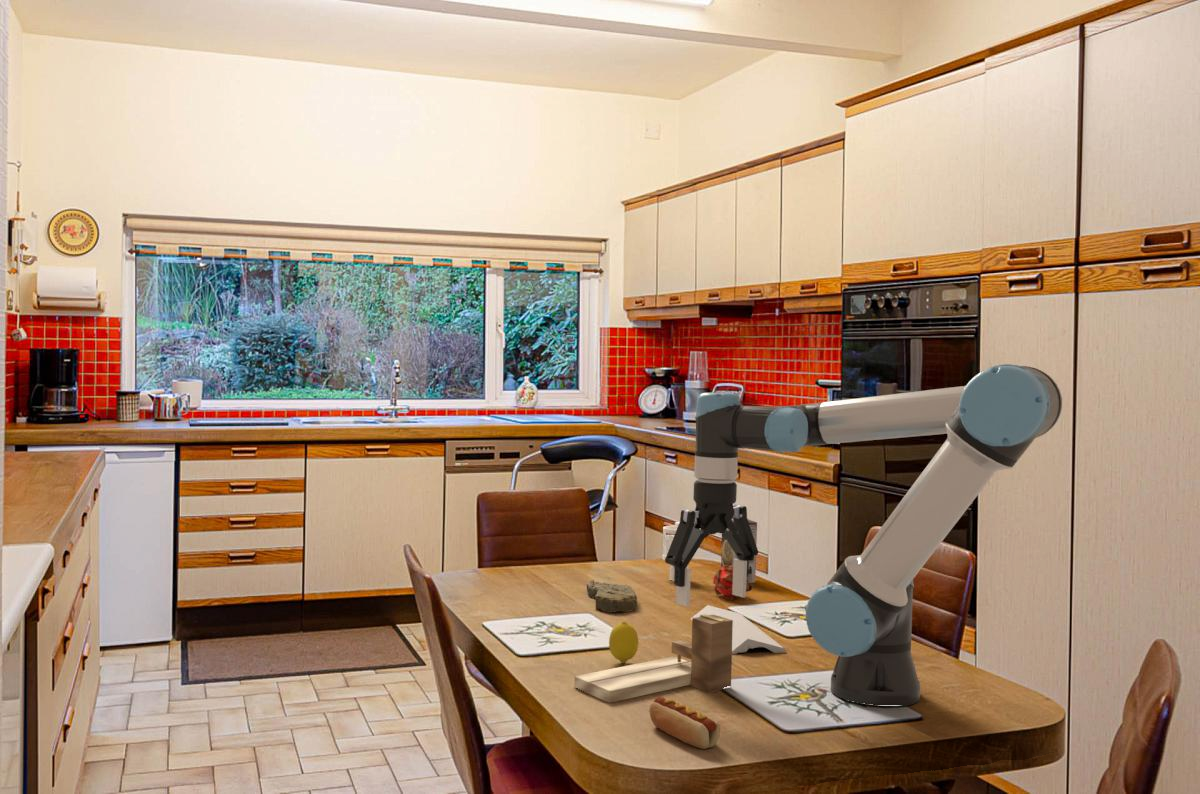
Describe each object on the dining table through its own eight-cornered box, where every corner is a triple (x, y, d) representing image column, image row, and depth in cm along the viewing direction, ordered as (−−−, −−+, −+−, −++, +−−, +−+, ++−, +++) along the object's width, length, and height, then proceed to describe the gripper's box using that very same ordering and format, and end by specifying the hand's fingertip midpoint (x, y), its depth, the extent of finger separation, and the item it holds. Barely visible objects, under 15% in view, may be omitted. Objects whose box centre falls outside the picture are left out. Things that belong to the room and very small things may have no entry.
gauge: (731, 687, 186) (733, 618, 186) (710, 692, 183) (712, 622, 183) (685, 671, 196) (686, 605, 195) (664, 675, 193) (666, 608, 192)
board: (710, 680, 190) (710, 668, 190) (609, 702, 176) (609, 690, 176) (673, 666, 198) (673, 655, 198) (574, 687, 184) (574, 675, 184)
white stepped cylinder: (690, 578, 281) (691, 522, 281) (686, 583, 274) (687, 526, 274) (664, 576, 283) (665, 520, 282) (659, 581, 276) (661, 524, 275)
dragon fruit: (723, 597, 266) (741, 615, 254) (699, 579, 263) (716, 596, 252) (744, 570, 266) (763, 587, 255) (720, 552, 263) (738, 568, 252)
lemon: (628, 669, 196) (629, 626, 196) (603, 664, 199) (603, 622, 199) (643, 662, 201) (644, 620, 201) (618, 657, 204) (619, 616, 204)
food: (727, 749, 157) (728, 715, 157) (698, 756, 154) (699, 722, 154) (670, 721, 168) (670, 690, 168) (642, 727, 165) (643, 696, 165)
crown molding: (787, 655, 210) (787, 637, 210) (728, 657, 208) (728, 639, 208) (741, 620, 239) (741, 604, 239) (689, 621, 236) (689, 605, 236)
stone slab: (652, 610, 242) (648, 589, 241) (601, 621, 239) (598, 600, 239) (624, 590, 268) (620, 571, 267) (578, 600, 265) (575, 581, 265)
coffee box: (719, 576, 284) (721, 517, 284) (741, 575, 286) (743, 516, 285) (733, 583, 275) (735, 522, 275) (756, 582, 277) (757, 521, 277)
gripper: (750, 474, 196) (746, 588, 197) (647, 481, 181) (643, 604, 182) (780, 479, 190) (776, 596, 191) (676, 486, 175) (672, 613, 176)
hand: (711, 600), depth 186 cm, fingers open, 13 cm apart
